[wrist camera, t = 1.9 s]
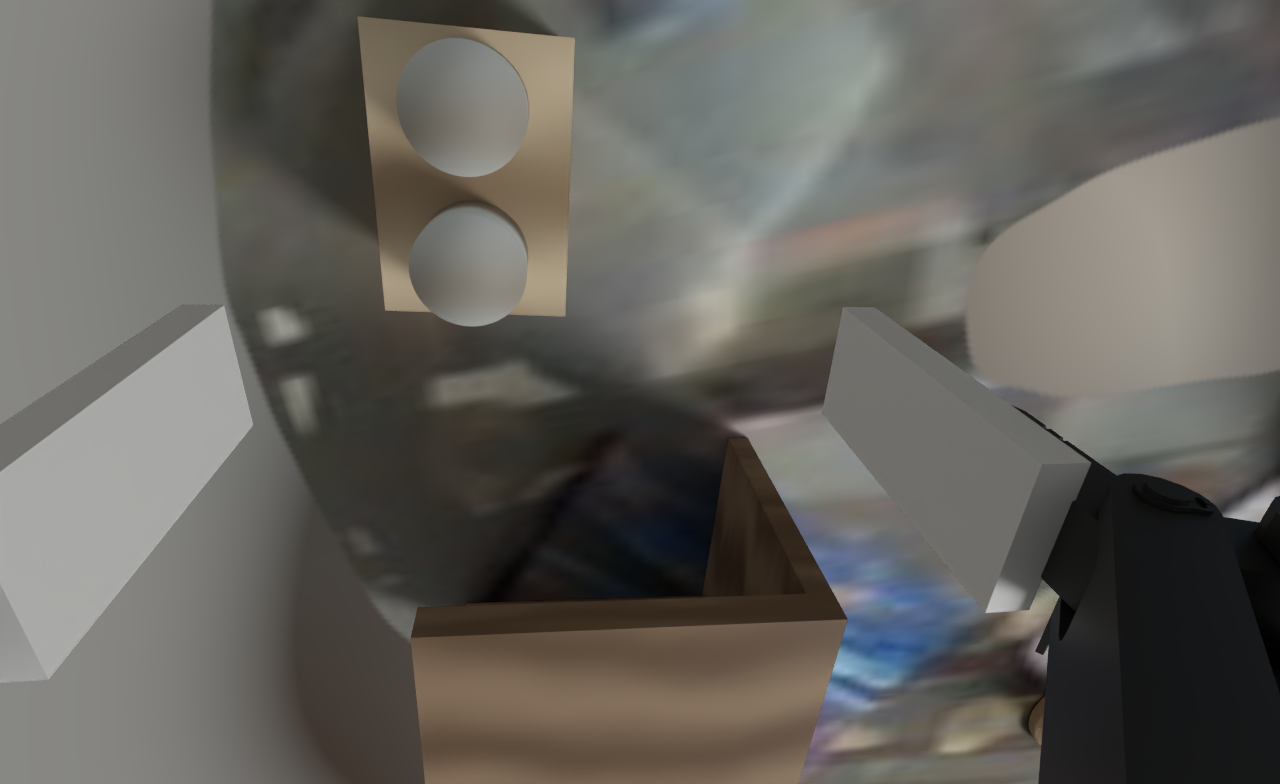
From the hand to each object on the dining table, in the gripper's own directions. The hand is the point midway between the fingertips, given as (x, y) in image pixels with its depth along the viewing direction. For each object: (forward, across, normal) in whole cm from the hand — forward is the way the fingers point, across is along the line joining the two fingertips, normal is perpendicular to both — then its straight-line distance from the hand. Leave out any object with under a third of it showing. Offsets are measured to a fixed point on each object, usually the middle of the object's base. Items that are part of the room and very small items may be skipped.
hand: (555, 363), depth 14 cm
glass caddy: (+20, -3, +2) cm, 20 cm away
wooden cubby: (+19, +3, -20) cm, 28 cm away
